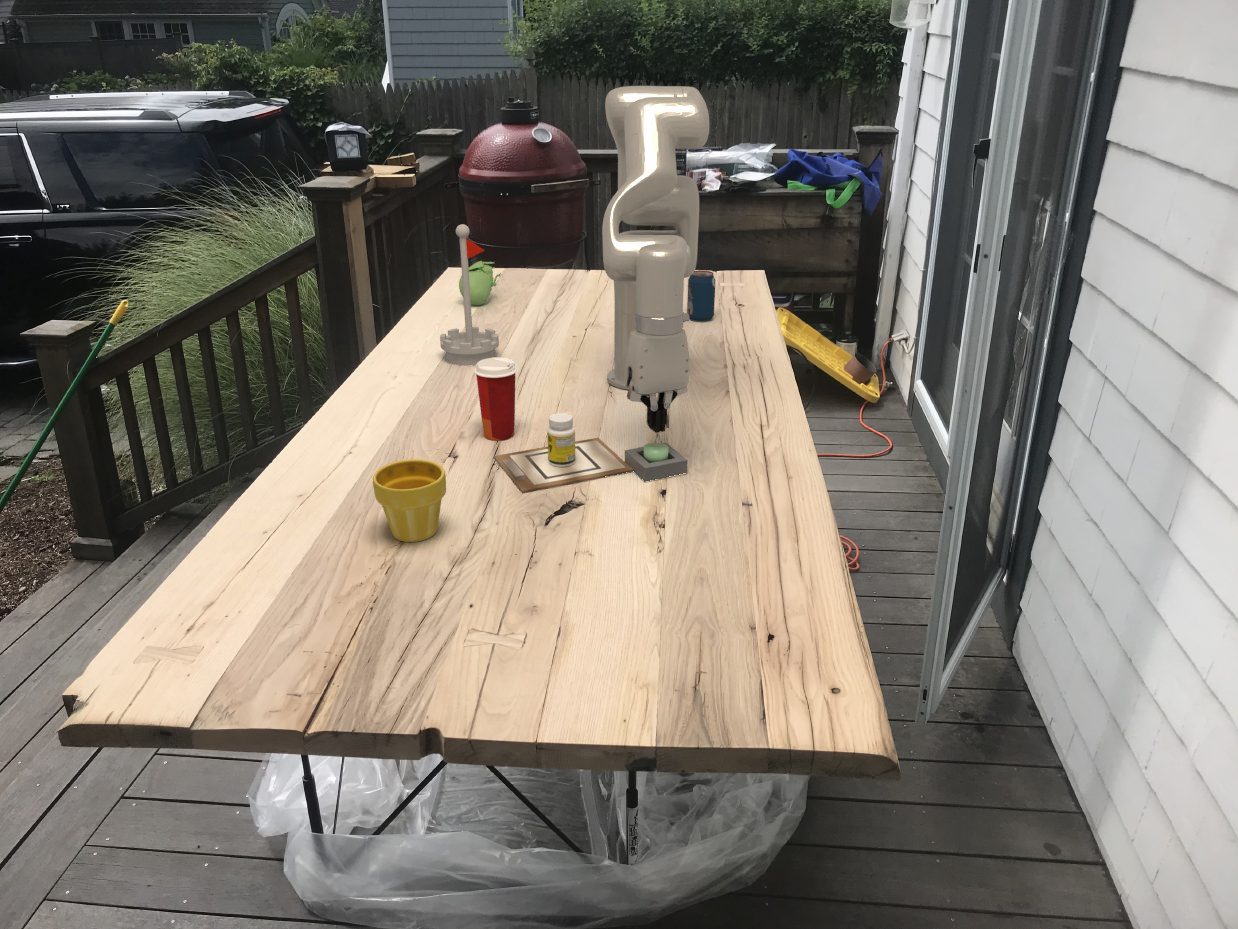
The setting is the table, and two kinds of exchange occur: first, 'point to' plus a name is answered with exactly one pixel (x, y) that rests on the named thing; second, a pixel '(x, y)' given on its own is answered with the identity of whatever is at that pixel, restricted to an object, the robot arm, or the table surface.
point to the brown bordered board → (538, 473)
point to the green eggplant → (480, 282)
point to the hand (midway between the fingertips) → (656, 429)
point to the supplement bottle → (561, 440)
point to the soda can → (701, 296)
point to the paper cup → (497, 397)
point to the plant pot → (411, 497)
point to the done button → (655, 452)
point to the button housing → (656, 464)
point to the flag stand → (468, 318)
